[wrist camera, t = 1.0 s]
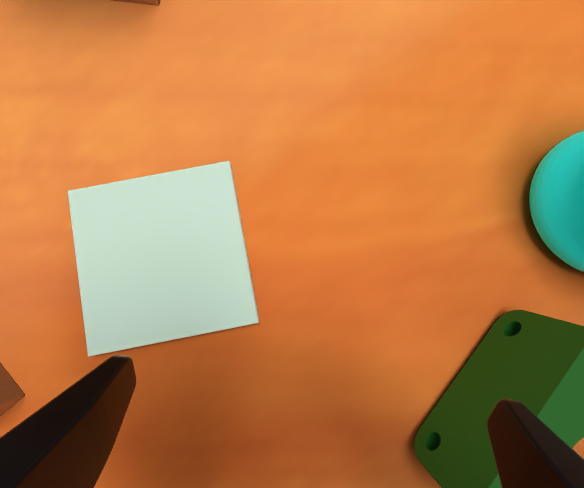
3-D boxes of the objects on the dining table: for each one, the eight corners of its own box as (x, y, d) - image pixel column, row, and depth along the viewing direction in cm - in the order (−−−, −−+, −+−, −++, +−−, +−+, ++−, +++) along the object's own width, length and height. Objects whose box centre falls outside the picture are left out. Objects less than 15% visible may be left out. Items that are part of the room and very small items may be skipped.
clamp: (453, 438, 26) (518, 590, 18) (398, 394, 25) (438, 534, 17) (597, 342, 23) (764, 475, 14) (539, 286, 22) (682, 395, 13)
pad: (259, 321, 23) (258, 322, 22) (95, 354, 23) (88, 356, 22) (231, 164, 24) (229, 160, 24) (75, 194, 24) (67, 190, 23)
